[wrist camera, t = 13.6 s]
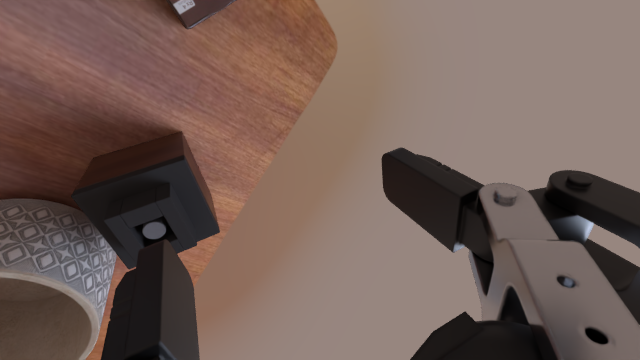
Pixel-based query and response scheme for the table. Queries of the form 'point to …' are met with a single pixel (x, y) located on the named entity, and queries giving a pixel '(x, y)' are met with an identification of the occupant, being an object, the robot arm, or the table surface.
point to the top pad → (146, 207)
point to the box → (196, 10)
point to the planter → (50, 281)
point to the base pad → (117, 188)
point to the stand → (144, 162)
